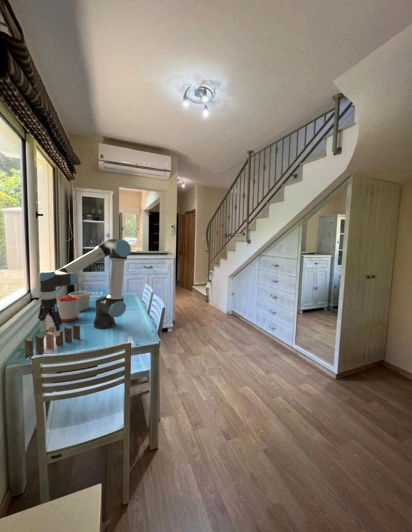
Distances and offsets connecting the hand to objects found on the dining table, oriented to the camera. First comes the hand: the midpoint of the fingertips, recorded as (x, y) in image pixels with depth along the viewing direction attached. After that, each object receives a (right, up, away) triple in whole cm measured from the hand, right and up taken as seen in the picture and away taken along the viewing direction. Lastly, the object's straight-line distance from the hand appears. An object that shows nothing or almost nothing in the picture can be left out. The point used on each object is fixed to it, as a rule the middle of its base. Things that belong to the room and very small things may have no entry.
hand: (50, 333), depth 142 cm
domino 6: (+7, -7, +15) cm, 18 cm away
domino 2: (-3, -9, -4) cm, 10 cm away
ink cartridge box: (-17, -5, +29) cm, 34 cm away
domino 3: (-1, -9, +1) cm, 9 cm away
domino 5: (+5, -8, +10) cm, 14 cm away
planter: (-21, 0, +74) cm, 77 cm away
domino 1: (-6, -10, -9) cm, 14 cm away
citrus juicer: (-17, -3, +50) cm, 53 cm away
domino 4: (+2, -8, +5) cm, 10 cm away
